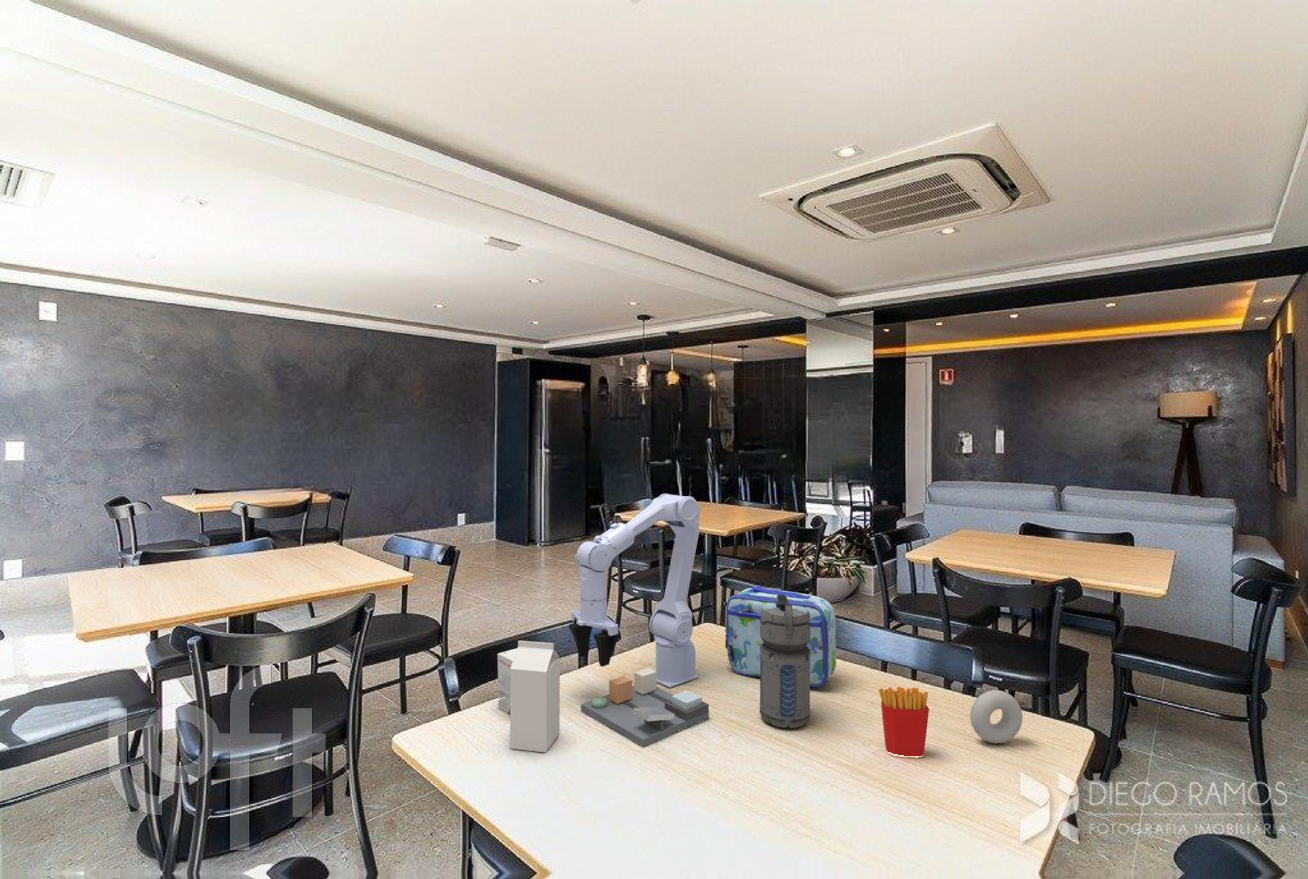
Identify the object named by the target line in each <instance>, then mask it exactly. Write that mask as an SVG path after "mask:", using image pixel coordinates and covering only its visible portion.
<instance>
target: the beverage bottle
mask: <svg viewBox="0 0 1308 879" xmlns="http://www.w3.org/2000/svg"><path fill="white" fill-rule="evenodd" d="M775 603H776V608H772V609H769V610H766V611H764V609H762V611H761V619H760V637H761V638H762V640H763V641H764V643H763V644H761V646H760V677H759V678H760V679H759V680H760V681H759V682H760V683H759V685H760V686H759V689H760V690H759V694H760V698H759V713H760V715H761V718H762V719H763V721H764V722H766V723H767V724H769V725H772V726H774V727H778V728H783V729H797V728H801V727H803V726H805V725H806V724H808V721H809V719H810V717H811V698H810V697H811V687H810V649H809V648H808V647H807V646H806V645H807V644H808V642H809V641H810V631H811V624H810V613H809V611H807V613H804V612H801V611H799V610H796V609H792V604H789V603H788V599H787V597H786V596H785V595H784V594H779V595H777V598H776V601H775ZM787 727H789V728H787Z"/></svg>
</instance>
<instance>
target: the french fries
mask: <svg viewBox="0 0 1308 879" xmlns="http://www.w3.org/2000/svg"><path fill="white" fill-rule="evenodd" d="M905 689H906V690H905ZM878 693H879V695H880V699H881V701H880V704H881V706H880V707H881V715H882V717H881V718H882V726H883V736H884V745H885V746H884V747H886V749H887V751H888V752H891V753H893V754H898V755H904V756H922V755H923V754H924V755H925V748H926V741H927V740H926V738H927V733H928V732H927V731H928V730H927V729H928V724H929V723H928V721H929V712H930V708H929V706H928V705H927V702H928V695H929V692H927V691H924V692H922V691H919V688H918V687H917V688H916V687H912V688H910V687H909V688H905V687H901V686H898V687H896V690H895V689H893V687H889V686H888V688H887V689H884V688H880V689H879V690H878ZM886 749H885V750H886ZM887 751H886V752H887Z"/></svg>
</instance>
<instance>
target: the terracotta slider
mask: <svg viewBox="0 0 1308 879" xmlns="http://www.w3.org/2000/svg"><path fill="white" fill-rule="evenodd" d="M632 686H633V679H631V678H630V677H627V676H625V675H622V676H619V677H616V678H612V679H610V680H608V695H609V699H610V700H611V701H613V702H615V703H617V704H619V703H621V702H624V701H627V700H630V699H632Z"/></svg>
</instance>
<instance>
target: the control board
mask: <svg viewBox="0 0 1308 879" xmlns="http://www.w3.org/2000/svg"><path fill="white" fill-rule="evenodd" d="M673 695H674V694H673V693H671V692H668V691H667V690H664V689H662V688H661V687H658V686H657V690H654V691H651V692H649V693H646V694H641V693H639V692H637V691H635V690H634V685H632V699H630V700H627V701H624V702H621V703H619V704H617V703H615V702H613V701H611V700H610V699H609V694H605V695H604V696H600V695H598V696H594V697H593V698H591V699H590V700H589V701H586V702H584V703H581V704H580V712H582V713H584V714H585V715H586V716H589V717H590V718H592V719H594V720H595V721H597V722H598V723H600V724H602V725H604V726H605V727H607V728H609V729H611V730H612V731H614V732H616V733H617V734H619V735H620V736H623V737H624V738H626V739H627V740H629V741H631V742H633V743H634V744H635V745H636V744H637V745H638V746H639V747H641V748H646V747H647V746H650V745H652V744H654V743H657V742H659V741H660V740H663V739H665V737H666V738H667V736H668V737H670V736H672V735H674V733H675V732H677V733H679V732H680V731H679V730H681V731H683V730H682V729H684V730H685V728H686V727H688V728H690V727H692V725H693V726H694V724H695V725H696V723H697V724H699V723H701V722H700V721H702V722H704V721H706V720H708V719H709V718H710V711H709V710H710V709H709V706H710V705H709V703H707V702H705V701H704V700H702V705H700V706H698V707H695V708H693V709H690V710H688V711H685V710H683V709H681V708H679V707H677V706H675V705H673V704H672V696H673ZM659 706H660V707H662V708H664V709H666V710H668V711H670V712H672V713H674V714H675V716H674V719H671V720H657V721H646V720H645V719H643V718H641V717H639V716H637V715H635V714H633V710H634V708H641V707H659ZM707 718H708V719H707ZM703 720H704V721H703ZM698 722H699V723H698ZM689 726H690V727H689ZM686 729H687V728H686ZM678 731H679V732H678ZM671 734H672V735H671ZM675 734H676V733H675ZM669 735H670V736H669Z"/></svg>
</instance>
